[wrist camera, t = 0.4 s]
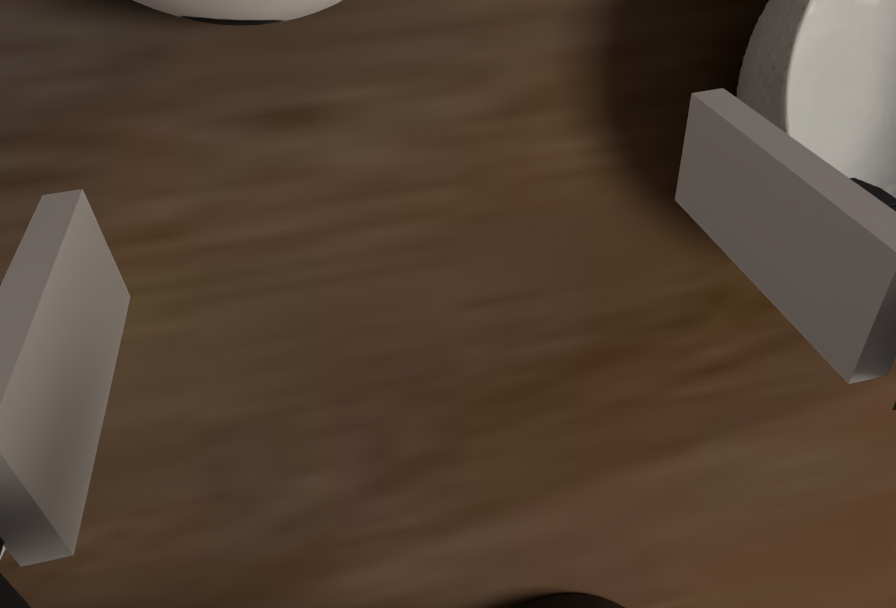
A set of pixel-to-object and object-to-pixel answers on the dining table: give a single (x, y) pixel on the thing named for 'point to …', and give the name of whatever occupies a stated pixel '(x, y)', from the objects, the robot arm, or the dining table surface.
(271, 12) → the milk container
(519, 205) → the dining table surface
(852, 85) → the cereal bowl
